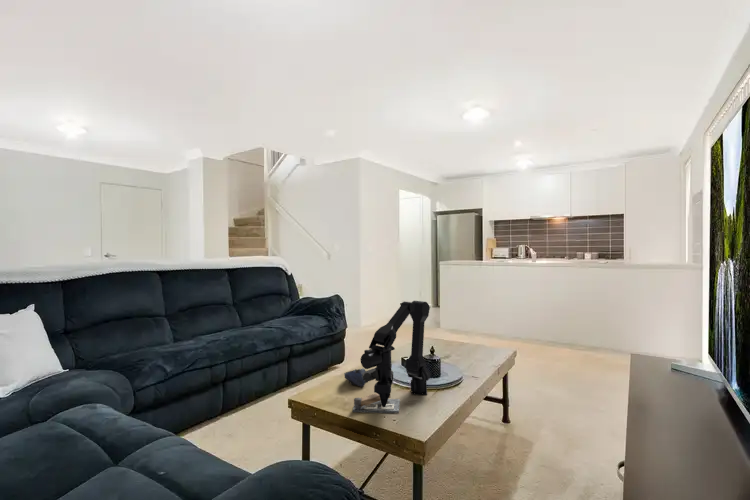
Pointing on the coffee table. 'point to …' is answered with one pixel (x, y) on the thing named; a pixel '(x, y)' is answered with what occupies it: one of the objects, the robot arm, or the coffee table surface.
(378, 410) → the chassis lid
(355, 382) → the rock
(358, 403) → the bar
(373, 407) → the label
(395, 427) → the coffee table surface
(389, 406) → the label
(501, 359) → the coffee table surface
